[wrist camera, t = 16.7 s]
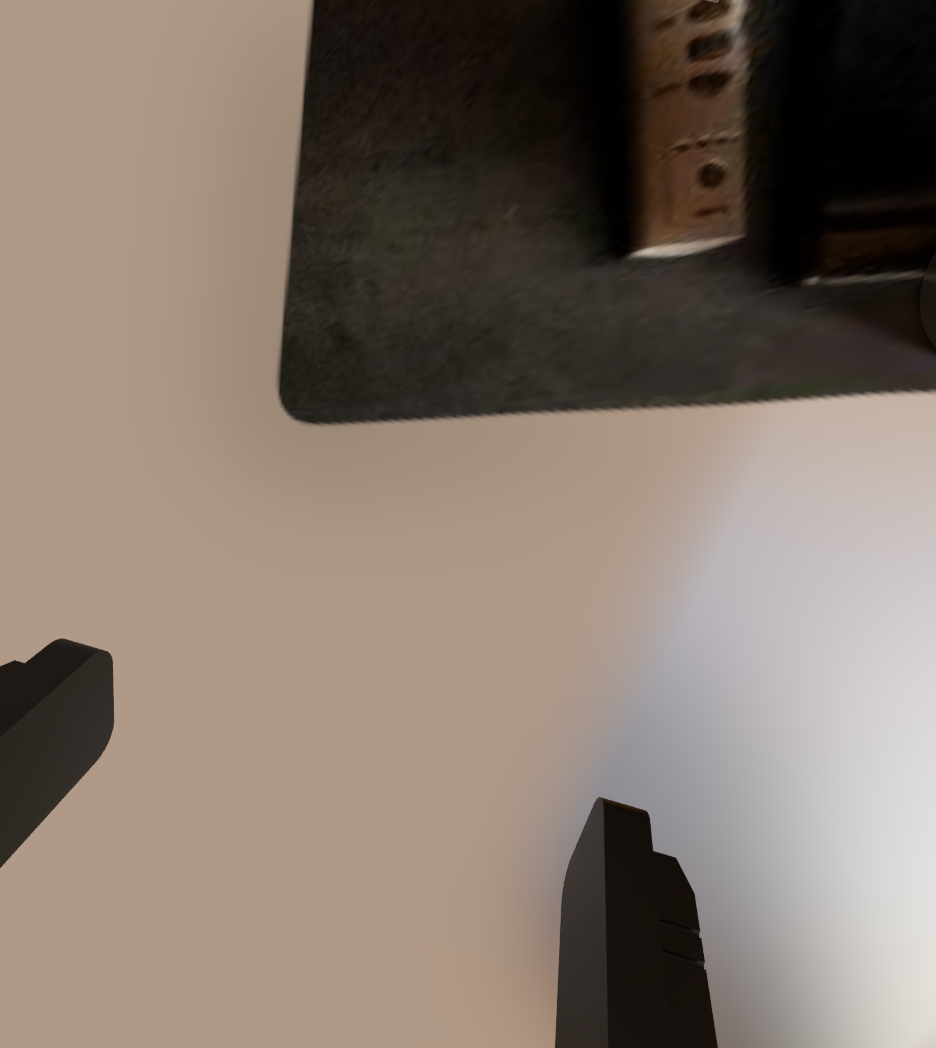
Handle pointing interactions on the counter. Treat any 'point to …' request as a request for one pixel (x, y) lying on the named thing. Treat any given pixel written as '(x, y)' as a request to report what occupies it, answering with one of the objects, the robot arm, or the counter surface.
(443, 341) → the counter surface
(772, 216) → the counter surface
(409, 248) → the counter surface
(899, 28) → the counter surface
